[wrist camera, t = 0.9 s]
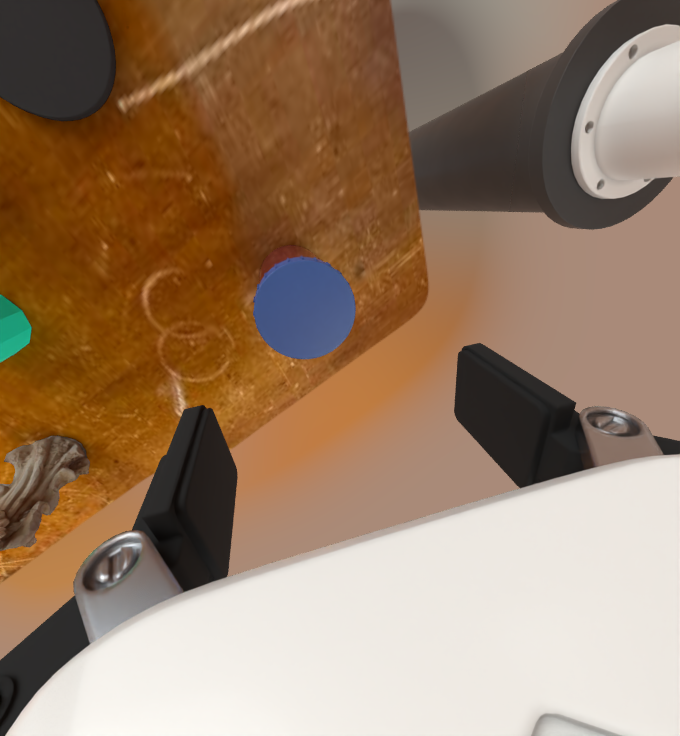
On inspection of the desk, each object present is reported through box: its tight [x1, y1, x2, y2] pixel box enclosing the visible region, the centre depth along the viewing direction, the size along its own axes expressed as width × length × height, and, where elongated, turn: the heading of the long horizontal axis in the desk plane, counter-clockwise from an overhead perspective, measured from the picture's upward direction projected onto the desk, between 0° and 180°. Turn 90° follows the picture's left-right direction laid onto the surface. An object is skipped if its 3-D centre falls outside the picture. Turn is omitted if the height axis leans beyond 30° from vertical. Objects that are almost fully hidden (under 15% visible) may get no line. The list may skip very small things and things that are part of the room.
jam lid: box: [253, 256, 355, 359], centre depth 21 cm, size 7×7×2 cm
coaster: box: [0, 0, 116, 121], centre depth 19 cm, size 9×9×1 cm
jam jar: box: [259, 245, 320, 284], centre depth 25 cm, size 6×6×10 cm
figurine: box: [0, 436, 90, 551], centre depth 26 cm, size 7×6×15 cm
